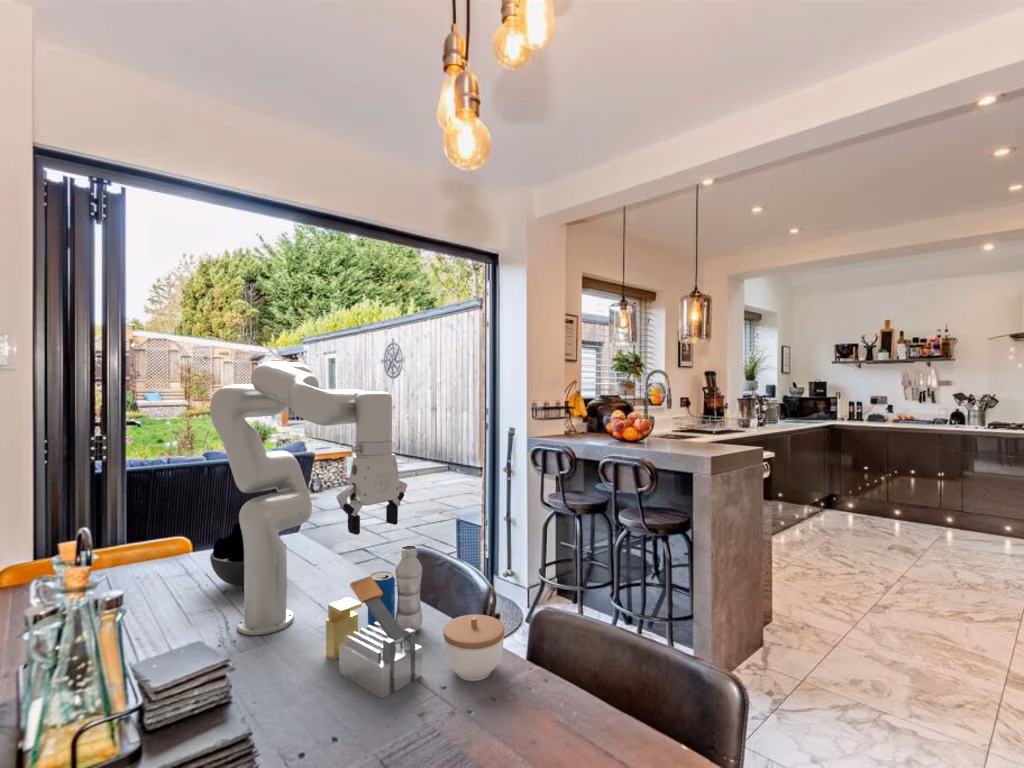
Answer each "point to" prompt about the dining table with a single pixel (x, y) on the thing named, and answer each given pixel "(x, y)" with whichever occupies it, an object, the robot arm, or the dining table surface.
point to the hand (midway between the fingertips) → (373, 528)
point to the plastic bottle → (409, 589)
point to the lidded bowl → (473, 645)
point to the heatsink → (380, 660)
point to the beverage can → (384, 593)
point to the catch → (340, 624)
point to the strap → (378, 607)
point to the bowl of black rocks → (230, 557)
